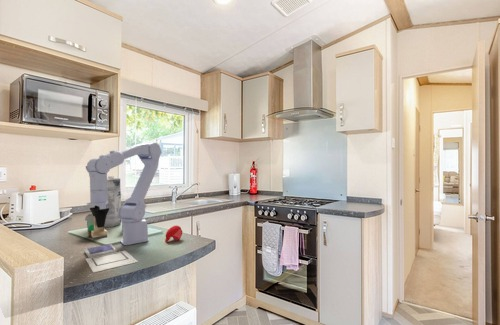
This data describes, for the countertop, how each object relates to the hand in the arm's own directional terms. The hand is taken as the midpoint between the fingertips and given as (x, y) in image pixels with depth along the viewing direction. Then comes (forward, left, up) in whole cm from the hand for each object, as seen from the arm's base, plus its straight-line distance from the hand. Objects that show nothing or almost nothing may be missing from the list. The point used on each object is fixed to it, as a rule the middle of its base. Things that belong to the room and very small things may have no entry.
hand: (99, 226), depth 102 cm
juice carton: (-13, -50, -10) cm, 53 cm away
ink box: (-18, -31, -10) cm, 37 cm away
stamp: (0, 0, -4) cm, 4 cm away
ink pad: (0, 0, -10) cm, 10 cm away
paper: (-1, +13, -10) cm, 16 cm away
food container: (-2, -30, -10) cm, 32 cm away
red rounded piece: (-27, +4, -10) cm, 29 cm away
